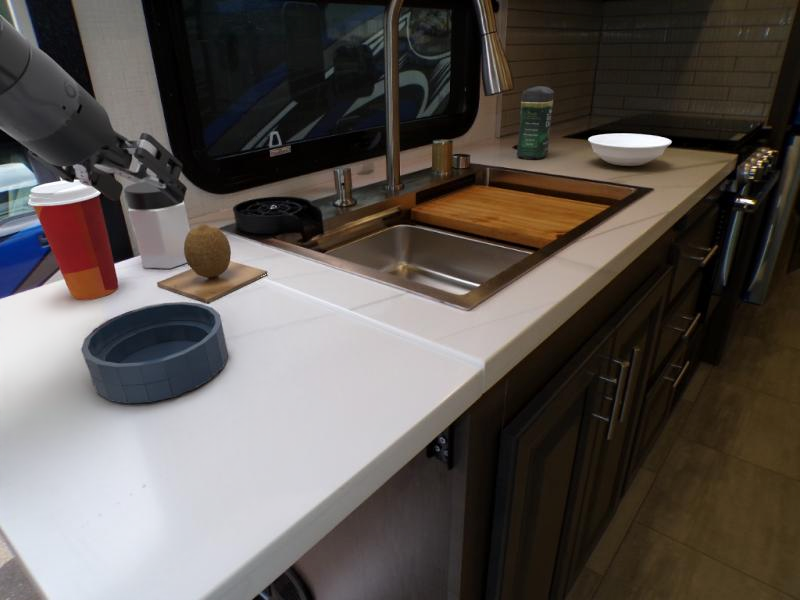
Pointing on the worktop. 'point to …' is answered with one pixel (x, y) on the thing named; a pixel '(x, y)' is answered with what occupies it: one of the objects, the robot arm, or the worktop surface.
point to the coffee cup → (77, 236)
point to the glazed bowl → (155, 352)
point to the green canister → (535, 122)
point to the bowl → (628, 148)
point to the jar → (157, 226)
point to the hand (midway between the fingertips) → (150, 195)
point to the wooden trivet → (212, 282)
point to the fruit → (207, 251)
